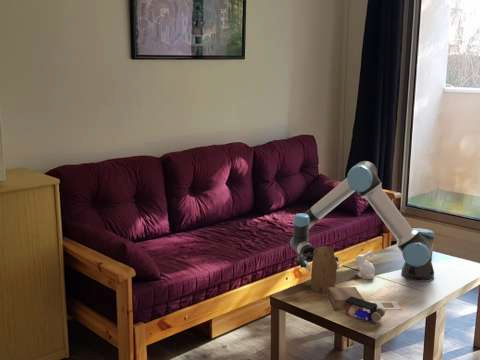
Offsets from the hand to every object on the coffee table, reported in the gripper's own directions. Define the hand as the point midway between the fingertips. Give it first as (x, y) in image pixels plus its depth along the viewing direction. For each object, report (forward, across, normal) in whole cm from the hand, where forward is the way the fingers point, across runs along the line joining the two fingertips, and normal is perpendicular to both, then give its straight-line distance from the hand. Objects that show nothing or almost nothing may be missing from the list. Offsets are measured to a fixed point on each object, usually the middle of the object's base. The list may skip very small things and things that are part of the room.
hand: (324, 267), depth 259 cm
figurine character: (+30, -5, -11) cm, 33 cm away
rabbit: (-13, -27, -11) cm, 32 cm away
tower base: (+16, -4, -11) cm, 19 cm away
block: (0, 0, -11) cm, 11 cm away
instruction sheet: (+20, -18, -11) cm, 29 cm away
